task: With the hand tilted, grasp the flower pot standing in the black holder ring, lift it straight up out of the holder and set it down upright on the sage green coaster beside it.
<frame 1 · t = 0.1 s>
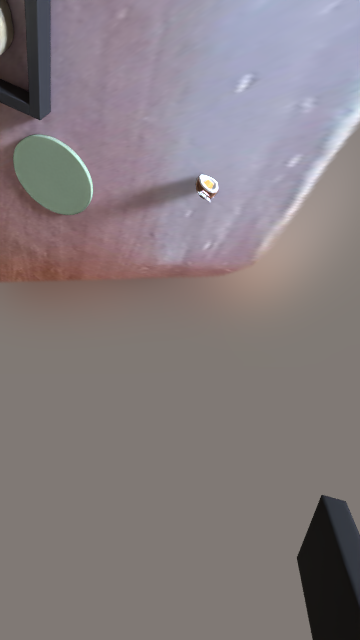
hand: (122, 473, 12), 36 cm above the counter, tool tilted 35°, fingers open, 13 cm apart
chocolate: (207, 181, 41), on the counter
coaster: (54, 177, 46), on the counter
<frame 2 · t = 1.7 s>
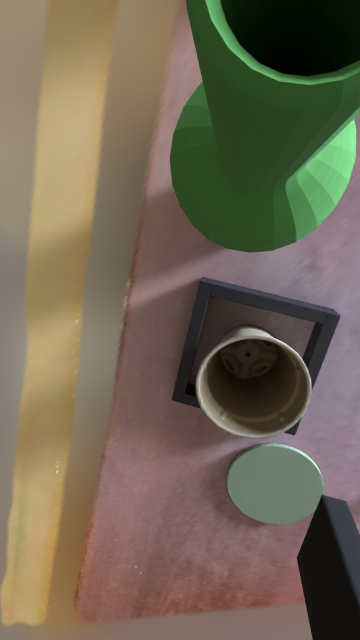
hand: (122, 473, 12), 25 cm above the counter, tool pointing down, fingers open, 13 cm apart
coaster: (273, 483, 40), on the counter
wine bottle: (246, 198, 32), on the counter
flower pot: (248, 351, 36), resting in holder
holder: (248, 352, 36), on the counter
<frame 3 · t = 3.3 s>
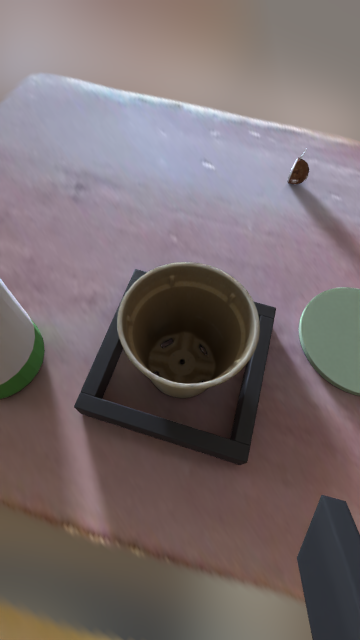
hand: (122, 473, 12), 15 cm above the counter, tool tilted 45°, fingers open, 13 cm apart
chocolate: (293, 184, 41), on the counter
coaster: (356, 339, 32), on the counter
wine bottle: (3, 360, 29), on the counter
flower pot: (182, 364, 30), resting in holder
holder: (182, 363, 30), on the counter
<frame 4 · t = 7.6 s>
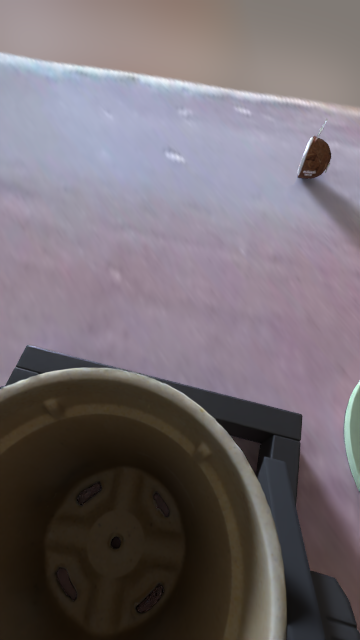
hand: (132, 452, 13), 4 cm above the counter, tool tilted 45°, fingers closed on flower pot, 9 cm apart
chocolate: (307, 179, 27), on the counter
flower pot: (119, 538, 15), resting in holder, touching gripper
holder: (118, 538, 15), on the counter
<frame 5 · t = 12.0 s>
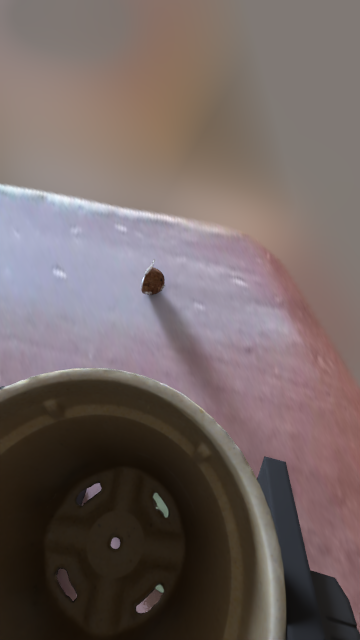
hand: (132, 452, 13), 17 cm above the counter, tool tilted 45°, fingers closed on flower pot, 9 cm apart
chocolate: (154, 291, 37), on the counter
flower pot: (118, 538, 15), point 13 cm above the counter, touching gripper
when the fingers open (4 cm above the counter, at t = 16.3 s): flower pot stays where it is, resting on coaster.
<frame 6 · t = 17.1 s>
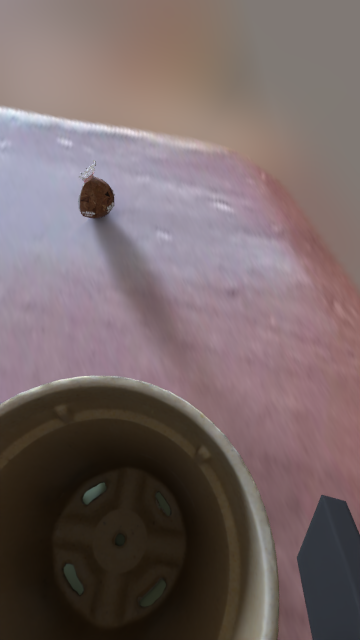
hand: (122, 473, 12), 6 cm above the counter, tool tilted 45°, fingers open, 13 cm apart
chocolate: (101, 217, 26), on the counter
coaster: (124, 533, 16), on the counter
flower pot: (123, 536, 15), resting on coaster
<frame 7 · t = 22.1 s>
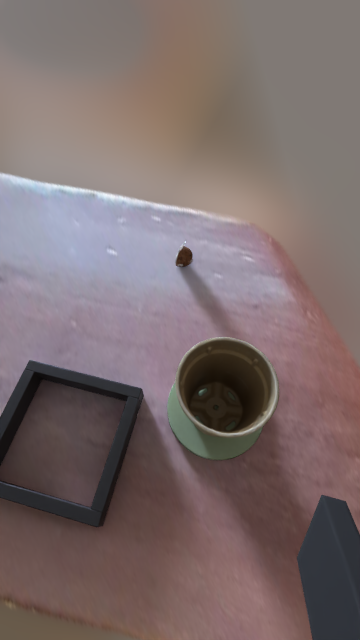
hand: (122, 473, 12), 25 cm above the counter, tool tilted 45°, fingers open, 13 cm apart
chocolate: (183, 265, 49), on the counter
coaster: (215, 408, 38), on the counter
flower pot: (215, 408, 38), resting on coaster
holder: (66, 438, 36), on the counter
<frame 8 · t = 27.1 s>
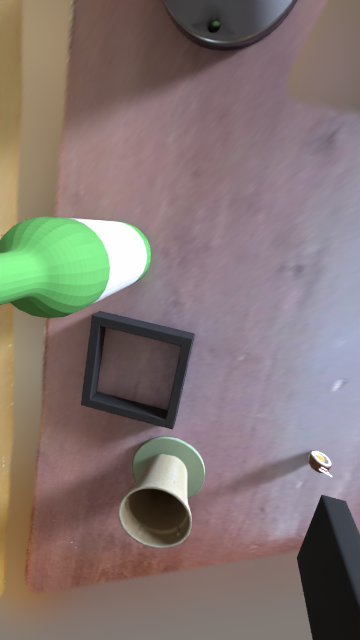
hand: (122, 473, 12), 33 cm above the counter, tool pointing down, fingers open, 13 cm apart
chocolate: (315, 455, 46), on the counter
coaster: (168, 468, 50), on the counter
wine bottle: (124, 253, 43), on the counter
flower pot: (167, 470, 50), resting on coaster
holder: (138, 366, 47), on the counter
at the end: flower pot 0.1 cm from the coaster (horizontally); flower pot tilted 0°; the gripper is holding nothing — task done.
